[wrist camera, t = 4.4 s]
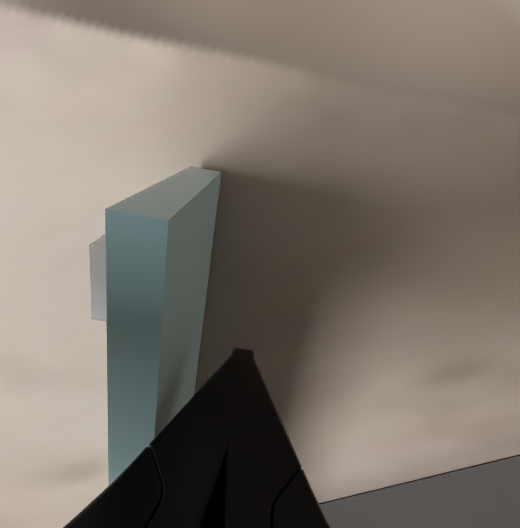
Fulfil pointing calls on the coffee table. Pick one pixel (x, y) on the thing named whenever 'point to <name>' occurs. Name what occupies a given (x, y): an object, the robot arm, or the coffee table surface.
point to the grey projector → (438, 501)
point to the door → (153, 304)
